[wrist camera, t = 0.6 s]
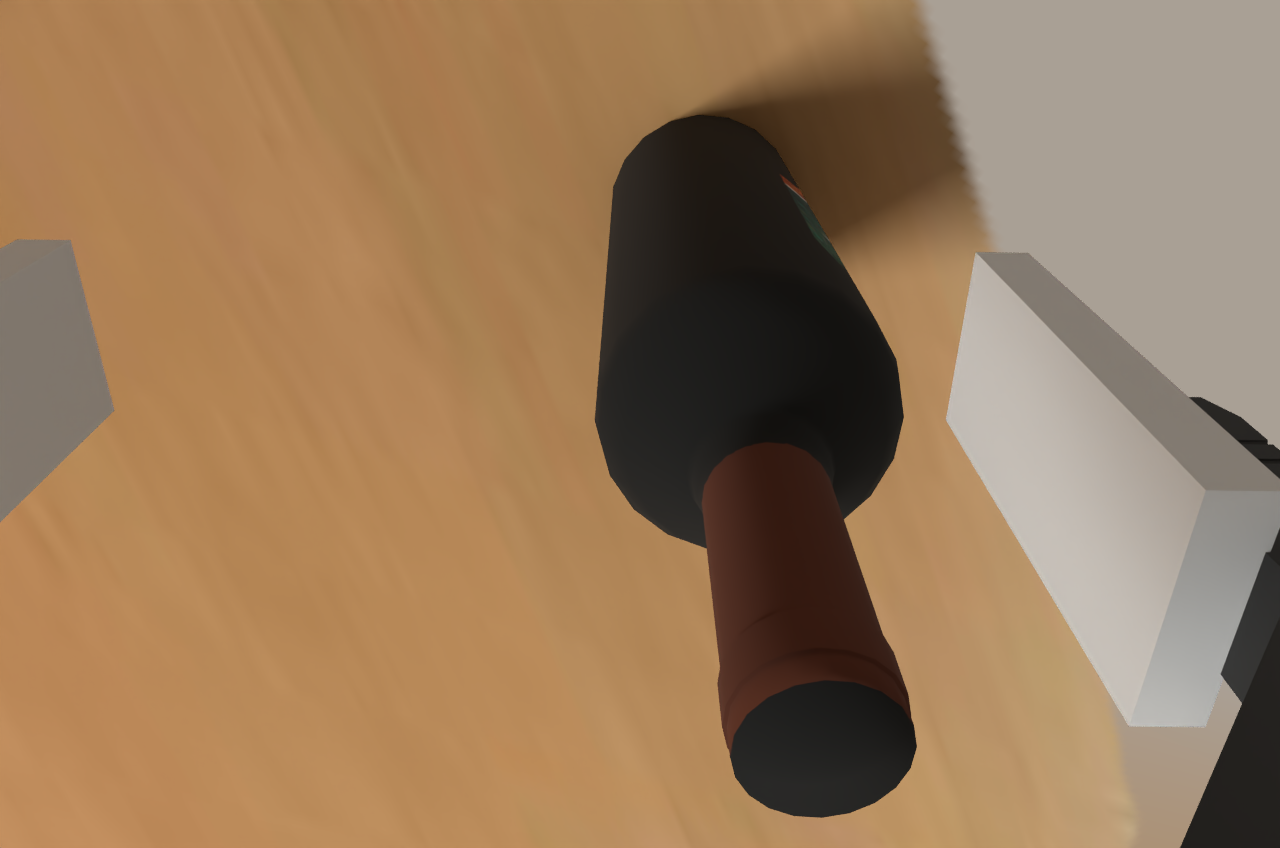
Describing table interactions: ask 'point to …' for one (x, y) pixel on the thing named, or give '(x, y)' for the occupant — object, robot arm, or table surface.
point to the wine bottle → (758, 451)
